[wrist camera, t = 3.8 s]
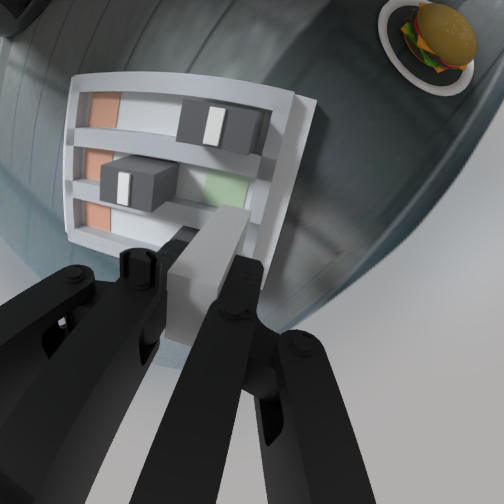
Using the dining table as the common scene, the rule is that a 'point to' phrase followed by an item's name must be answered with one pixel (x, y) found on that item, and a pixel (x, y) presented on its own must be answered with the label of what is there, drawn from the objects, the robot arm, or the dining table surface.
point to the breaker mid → (138, 182)
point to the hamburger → (433, 42)
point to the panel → (178, 158)
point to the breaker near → (219, 126)
